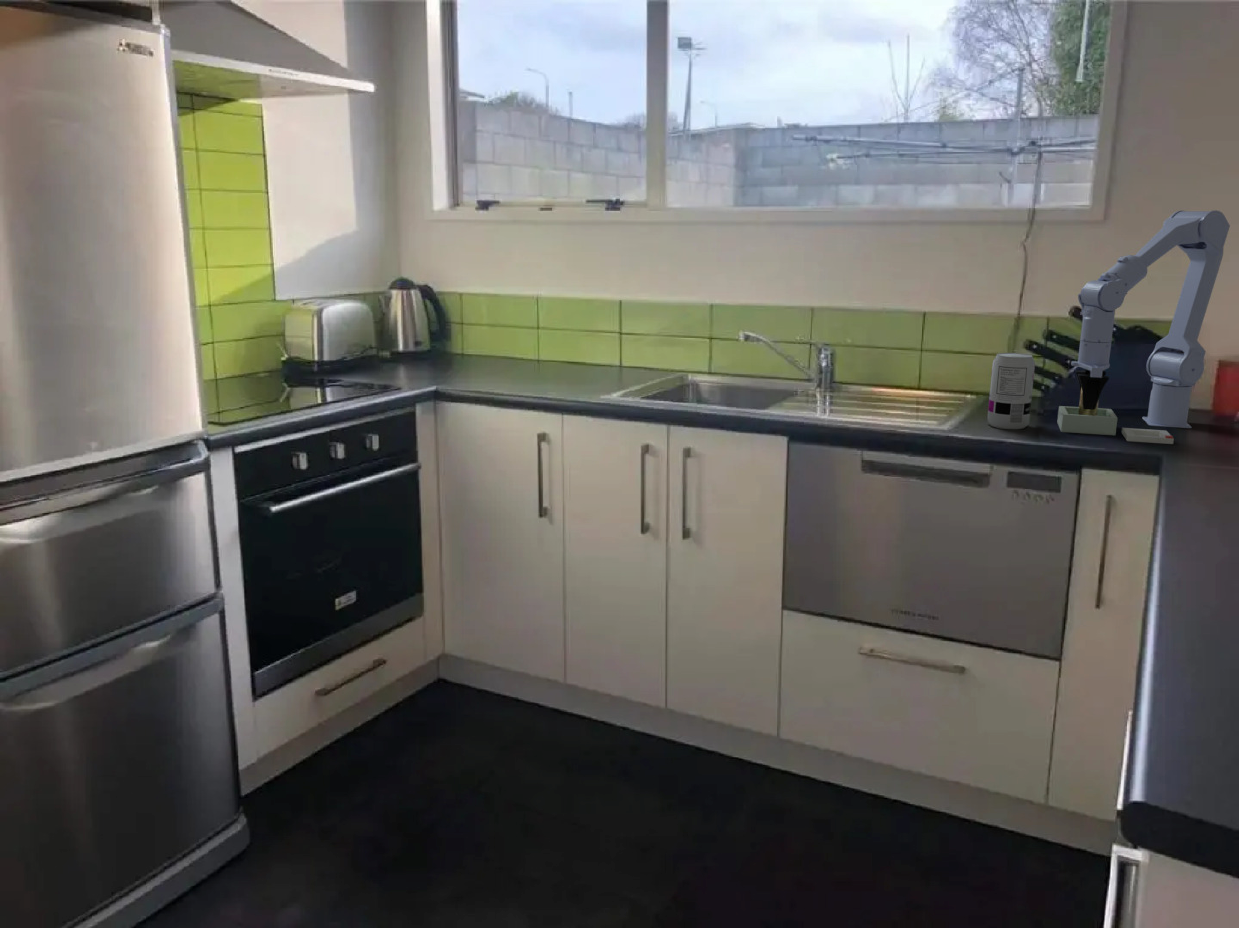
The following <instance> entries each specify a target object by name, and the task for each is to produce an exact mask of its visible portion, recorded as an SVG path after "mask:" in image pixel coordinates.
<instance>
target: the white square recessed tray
mask: <svg viewBox="0 0 1239 928" xmlns="http://www.w3.org/2000/svg"><path fill="white" fill-rule="evenodd" d="M1121 434H1122V436H1123V437H1124V438H1125V440H1126V441H1127V442H1135V443H1149V444H1150V443H1151V444H1168V445H1174V442H1175V439H1174V437H1173V435H1171V434H1170V433H1169V432H1168V431H1167V430H1163V429H1162V430H1161V429H1150V428H1149V429H1147V428H1146V429H1145V428H1132V427H1131V428H1130V427H1122V428H1121Z"/></svg>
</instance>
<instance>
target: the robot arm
mask: <svg viewBox="0 0 1239 928" xmlns="http://www.w3.org/2000/svg"><path fill="white" fill-rule="evenodd" d="M1162 224H1163V225H1162V227H1161V229H1160V230H1159V231H1157V232H1156V233H1155V235H1154V236H1153V237H1151V239H1150V240H1148V242H1146V244H1145V245H1144V246H1142V247H1141V248H1140V250H1138V251H1137V252H1136V254H1134V255H1133V254H1128V255H1125V256H1120V257H1119V258H1118V259H1117V260H1116V261H1117V262H1116V263H1115V264H1114V265H1112V266H1111V267H1110V268H1109V269H1108V270H1107V271H1106V272H1103V273H1101V275H1100V276H1099V278H1098V279H1095V280H1090V281H1088V282H1086V284H1085V285H1084V286H1082V288H1081V290H1080V293H1078V295H1077V296H1078V297H1077V298H1078V299H1077V300H1078V302H1079V305H1080V307H1081V313H1080V314H1081V315H1082V322H1081V330H1080V338H1079V339H1080V341H1079V350H1078V356H1077V357H1078V358H1077V361H1076V360H1075V361H1074V360H1072V361H1071V363H1070V364H1071V366H1074V367H1079V368H1082V369H1084V370H1075V375H1076V377H1077V381H1078V386H1079V395H1080V394H1081V387H1082V401H1083V408H1084V409H1090V410H1095V408H1096V405H1097V403H1098V404H1099V402H1098V400H1099V401H1100V396H1101V394H1102V391H1103V389H1104V387H1105V385H1106V384H1107V383H1108V381H1109V380H1110V377H1109V376H1106V375H1107V372H1106V371H1105V370H1107V369H1109V368H1110V366H1111V364H1110V355H1111V350H1112V349H1111V348H1112V347H1111V346H1112V338H1113V332H1114V331H1113V330H1114V323H1115V315H1116V310H1117V309H1119V308H1120V307H1121V306H1122V305H1123V303H1124V300H1125V297H1126V296H1127V294H1128V292H1129V291H1130V290H1132V289H1133V288H1134V287H1135V286H1136V285H1137V284H1139V283H1140V282H1142V281H1143V279H1145V278H1146V277H1147V274H1148V268H1149V267H1150V266H1151V265H1152V264H1154V263H1155V262H1156V261H1158V260H1159V259H1160V258H1162V257H1164V255H1166V254H1167V253H1168V252H1170V251H1171V250H1172V249H1174V248H1175V247H1176V246H1177V247H1178V248H1179V249H1180V250H1181V251H1183V253H1185V254H1186V256H1187V257H1188V259H1189V260H1190V261H1189V263H1188V264H1189V265H1188V268H1187V271H1186V273H1185V274H1186V275H1185V277H1184V281H1183V285H1182V288H1181V291H1180V294H1179V298H1178V302H1177V304H1176V307H1175V308H1176V309H1175V311H1174V315H1173V318H1172V321H1171V324H1170V327H1169V331H1168V334H1167V335H1166V336H1164V337H1163V338H1161V339H1160V340H1159V341H1157V342H1156V344H1155V347H1154V349H1153V351H1152V353H1151V354H1150V355H1149V357H1148V359H1147V361H1146V366H1145V367H1146V372H1147V374H1148V375H1149V377H1150V382H1152V389H1151V391H1150V396H1149V403H1148V410H1147V411H1148V412H1147V416H1142V420H1143V421H1145V423H1146V424H1147V425H1148V426H1150V427H1168V428H1182V429H1192V426H1191V425H1190V424H1189V423H1188V417H1189V409H1190V402H1191V397H1192V395H1191V394H1192V388H1193V387H1194V386H1196V383H1198V381H1199V380H1200V379H1201V377H1202V375H1203V374H1204V370H1205V369H1204V368H1205V362H1204V361H1205V355H1206V352H1207V351H1206V350H1205V348H1204V347H1203V346H1202V344H1201V343H1200V342H1199V341H1198V339H1199V335H1200V332H1201V329H1202V326H1203V323H1204V319H1205V316H1206V313H1207V310H1208V306H1209V303H1210V299H1211V296H1212V293H1213V289H1214V286H1215V283H1216V281H1217V277H1218V273H1219V271H1220V266H1221V264H1222V260H1223V257H1224V246H1225V244H1226V240H1227V237H1228V234H1229V230H1230V227H1231V226H1230V223H1229V222H1228V219H1227V217H1226V216H1225V214H1224V213H1223V212H1222V211H1220V210H1216V209H1215V210H1214V209H1213V210H1210V211H1209V210H1208V211H1207V210H1206V211H1205V210H1204V211H1203V210H1202V211H1201V210H1189V211H1188V210H1177V211H1175V212H1173V213H1172V214H1171V215H1170V216H1169V217H1167V218H1166V219H1165V220H1164V221H1163V223H1162ZM1178 351H1181V352H1178Z"/></svg>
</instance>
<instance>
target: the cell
mask: <svg viewBox="0 0 1239 928" xmlns="http://www.w3.org/2000/svg"><path fill="white" fill-rule="evenodd" d="M1099 401H1100V399H1099V400H1098V403H1097V405H1096V408H1095V410H1090V409H1084V408H1083V401H1082V387H1081V394H1080V393H1079V402H1078V403H1079V404H1078V407H1079V411H1078V415H1092V416H1097V410H1098V408H1099Z"/></svg>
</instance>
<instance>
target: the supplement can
mask: <svg viewBox="0 0 1239 928" xmlns="http://www.w3.org/2000/svg"><path fill="white" fill-rule="evenodd" d="M1035 369H1036V362H1035V360H1034V358H1033V355H1032V354H1029V353H1019V352H1000V353H998V352H997V353H996V356H995V357H994V359H993V361H992V366H991V374H990V375H991V376H990V377H991V379H990V387H989V388H990V389H989V397H988V398H989V399H988V407H987V408H988V409H987V419H986V421H987V423H989V425H990V426H991V427H993V428H998V429H1004V430H1022V429H1025V428H1026V427H1027V426H1029V424H1030V418H1031V406H1032V398H1033V387H1034V376H1035Z"/></svg>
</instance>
